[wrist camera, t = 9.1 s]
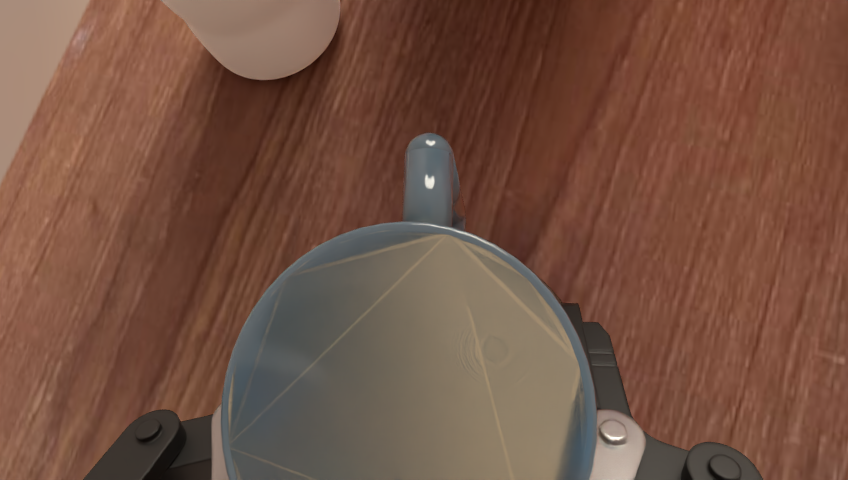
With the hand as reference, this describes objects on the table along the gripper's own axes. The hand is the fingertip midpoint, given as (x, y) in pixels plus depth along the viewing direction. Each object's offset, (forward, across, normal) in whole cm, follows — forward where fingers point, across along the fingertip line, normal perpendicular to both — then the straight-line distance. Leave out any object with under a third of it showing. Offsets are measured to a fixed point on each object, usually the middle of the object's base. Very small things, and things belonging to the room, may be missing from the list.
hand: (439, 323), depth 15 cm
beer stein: (+3, 0, +4) cm, 5 cm away
